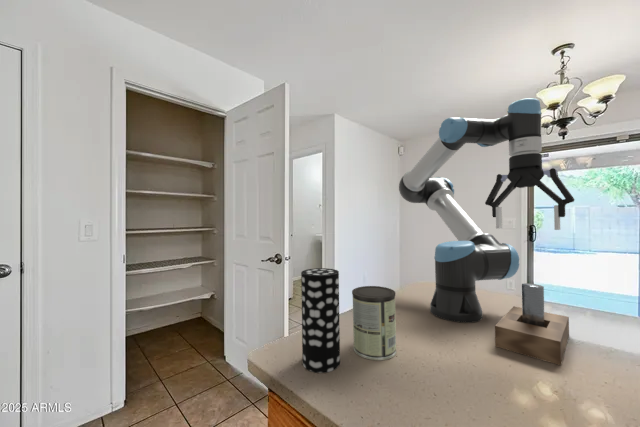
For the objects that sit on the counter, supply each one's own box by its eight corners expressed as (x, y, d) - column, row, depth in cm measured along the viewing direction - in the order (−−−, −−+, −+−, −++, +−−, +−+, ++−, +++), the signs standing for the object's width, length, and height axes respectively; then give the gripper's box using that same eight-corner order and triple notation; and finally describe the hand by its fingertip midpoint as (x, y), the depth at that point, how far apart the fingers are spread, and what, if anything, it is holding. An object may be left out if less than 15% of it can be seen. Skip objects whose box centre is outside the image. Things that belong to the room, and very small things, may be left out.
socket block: (495, 346, 66) (494, 325, 66) (514, 323, 80) (513, 306, 80) (560, 365, 57) (560, 341, 57) (569, 335, 71) (568, 316, 71)
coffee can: (357, 337, 72) (356, 284, 72) (397, 343, 68) (396, 287, 69) (348, 356, 62) (347, 295, 62) (395, 364, 59) (394, 299, 59)
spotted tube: (312, 377, 54) (311, 277, 55) (296, 358, 62) (295, 270, 62) (347, 366, 58) (345, 273, 58) (328, 349, 66) (327, 267, 66)
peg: (521, 340, 69) (520, 285, 69) (524, 335, 72) (523, 282, 72) (543, 346, 65) (542, 288, 66) (546, 340, 69) (545, 285, 69)
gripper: (472, 160, 85) (474, 228, 85) (583, 143, 66) (585, 231, 66) (482, 163, 90) (483, 227, 90) (587, 148, 71) (589, 229, 70)
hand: (526, 229), depth 78 cm, fingers open, 13 cm apart
